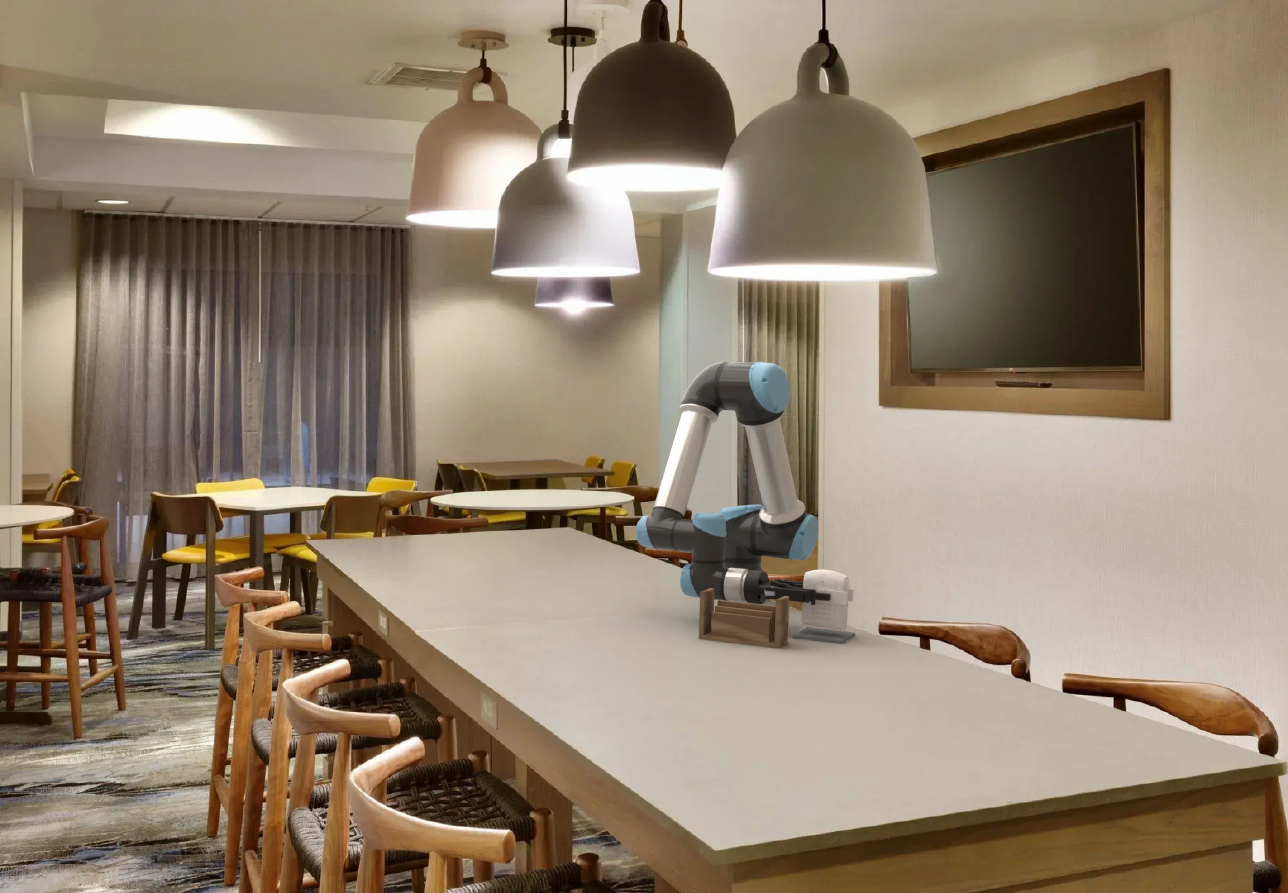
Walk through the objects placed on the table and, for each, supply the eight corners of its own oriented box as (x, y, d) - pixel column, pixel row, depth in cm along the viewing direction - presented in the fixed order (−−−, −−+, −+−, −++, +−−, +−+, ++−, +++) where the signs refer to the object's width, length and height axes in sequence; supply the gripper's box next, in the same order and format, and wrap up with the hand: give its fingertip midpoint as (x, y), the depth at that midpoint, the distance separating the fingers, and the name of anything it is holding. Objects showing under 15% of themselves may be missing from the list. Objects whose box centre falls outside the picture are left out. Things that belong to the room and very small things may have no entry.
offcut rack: (708, 633, 261) (710, 588, 260) (787, 643, 253) (789, 596, 252) (698, 638, 255) (700, 591, 255) (779, 648, 248) (780, 600, 247)
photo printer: (850, 627, 260) (852, 571, 260) (843, 630, 256) (845, 573, 256) (805, 622, 265) (807, 566, 265) (798, 625, 261) (800, 568, 261)
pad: (807, 629, 268) (807, 627, 268) (855, 635, 263) (855, 632, 263) (792, 637, 259) (792, 635, 259) (842, 643, 254) (842, 640, 254)
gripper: (760, 597, 276) (859, 607, 266) (733, 608, 260) (837, 620, 250) (761, 564, 276) (861, 574, 266) (734, 574, 260) (838, 584, 250)
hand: (849, 596), depth 258 cm, fingers closed on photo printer, 4 cm apart
